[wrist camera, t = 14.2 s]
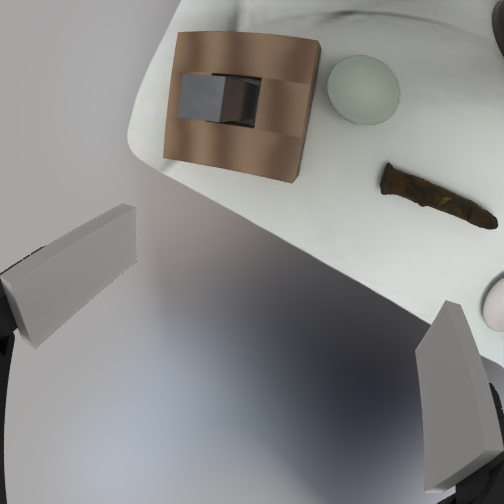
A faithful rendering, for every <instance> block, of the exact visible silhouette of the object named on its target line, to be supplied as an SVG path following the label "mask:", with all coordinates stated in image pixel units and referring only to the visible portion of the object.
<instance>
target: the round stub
mask: <svg viewBox="0 0 504 504" xmlns="http://www.w3.org/2000/svg"><path fill="white" fill-rule="evenodd" d="M328 95H329V98H330V101H331V103H332V105H333V106H334V108H335V109H336V110H337V112H338V113H339V114H340V115H342V116H343V117H344V118H346V119H347V120H349V121H351V122H353V123H356V124H361V125H375V124H378V123H381V122H383V121H385V120H387V119H388V118H389V117H390V116H392V114H393V113H394V112H395V110H396V109H397V106H398V104H399V100H400V88H399V84H398V81H397V79H396V77H395V75H394V73H393V72H392V71H391V69H390V68H389V67H388V66H387V65H385V64H384V63H383V62H381V61H379V60H377V59H375V58H373V57H369V56H363V55H357V56H351V57H348V58H346V59H343V60H342V61H340V62H339V63H338V64H337V65H336V66H335V67H334V68H333V70H332V71H331V73H330V76H329V79H328Z"/></svg>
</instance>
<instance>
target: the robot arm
mask: <svg viewBox="0 0 504 504" xmlns="http://www.w3.org/2000/svg"><path fill="white" fill-rule="evenodd" d="M493 29H494V33H495V37H496V40H497V43H498V45H499V48H500V50H501V52H502V54H503V56H504V0H501V1H500V2H498V4H497V5H496V6H495V9H494V12H493ZM136 262H137V261H136V207H133V206H129V205H126V204H121V205H119V206H117V207H115V208H113V209H111V210H109V211H107V212H105V213H103V214H102V215H100V216H98V217H96V218H94V219H92V220H90V221H89V222H87V223H85V224H83V225H81V226H80V227H78V228H76V229H74V230H72V231H71V232H69V233H67V234H65V235H64V236H62V237H60V238H59V239H57V240H55V241H53V242H52V243H50V244H48V245H47V246H44V247H41V248H39V249H38V250H36V251H35V252H33V253H31V255H28V256H26V257H25V258H23V260H20V261H18V262H17V263H16V264H14V265H12V266H11V267H9V268H8V269H6V270H5V271H3V272H2V273H0V504H7V499H6V489H5V476H4V475H5V474H4V422H5V421H4V420H5V407H6V395H7V386H8V378H9V370H10V364H11V358H12V352H13V347H14V341H15V335H14V333H13V331H14V330H15V329H17V328H18V330H19V332H20V335H21V337H22V339H23V341H25V342H26V343H27V344H28V345H30V346H31V347H32V348H33V349H36V348H38V346H39V345H41V344H42V343H43V342H44V341H45V340H46V339H47V338H48V337H49V336H51V335H52V334H53V333H54V332H55V331H56V330H57V329H58V328H59V327H61V326H62V325H63V324H64V323H65V322H66V321H67V320H68V319H70V318H71V317H72V316H73V315H74V314H75V313H76V312H77V311H79V310H80V309H81V308H82V307H83V306H84V305H85V304H87V303H88V302H89V301H90V300H91V299H93V298H94V297H95V296H96V295H97V294H98V293H100V292H101V291H102V290H103V289H104V288H106V287H107V286H108V285H109V284H110V283H112V282H113V281H114V280H115V279H116V278H118V277H119V276H120V275H121V274H123V273H124V272H125V271H126V270H127V269H129V268H130V267H131V266H133V265H134V264H135V263H136ZM415 353H416V359H417V367H418V374H419V383H420V392H421V402H422V414H423V430H424V454H425V456H424V458H425V480H424V482H425V483H424V493H443V492H445V491H447V490H448V489H450V488H451V487H453V486H455V485H456V493H454V494H453V495H451V496H449V497H447V498H446V499H444V500H442V501H440V502H438V503H437V504H504V414H503V410H502V409H501V408H502V405H501V402H500V398H499V395H498V393H497V391H496V390H495V388H494V386H493V385H492V384H491V383H488V380H487V376H486V373H485V370H484V367H483V364H482V361H481V358H480V354H479V352H478V349H477V346H476V343H475V340H474V338H473V335H472V332H471V330H470V327H469V325H468V322H467V320H466V317H465V315H464V312H463V310H462V307H461V305H459V304H456V303H453V302H450V301H447V300H446V301H445V302H444V304H443V306H442V308H441V310H440V311H439V313H438V315H437V316H436V318H435V320H434V322H433V323H432V325H431V327H430V328H429V330H428V331H427V333H426V335H425V336H424V338H423V339H422V341H421V343H420V344H419V346H418V347H417V349H416V350H415Z"/></svg>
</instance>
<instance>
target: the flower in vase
mask: <svg viewBox="0 0 504 504" xmlns="http://www.w3.org/2000/svg"><path fill="white" fill-rule="evenodd" d="M483 319H484V322H485V324H486V325H487V326H488V327H489V328H491V329H492V330H494V331H499V332H502V331H504V278H502V279H501V280H499V281H498V282H497V283H496V284H495V285H494V286H493V288H492V289H491V290H490V292H489V293H488V295H487V297H486V300H485V303H484V306H483Z"/></svg>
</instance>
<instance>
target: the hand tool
mask: <svg viewBox="0 0 504 504" xmlns="http://www.w3.org/2000/svg"><path fill="white" fill-rule="evenodd" d="M380 186H381V187H380V189H381V194H383V195H387V194H389V195H391V194H393V195H399V196H401V197H404V198H407V199H409V200H411V201H413V202H415V203H418V204H419V205H420V206H422V207H424V206H430V207H432V208H435V209H438V210H440V211H443V212H446V213H449V214H451V215H454V216H456V217H459V218H461V219H464V220H466V221H468V222H469V223H471V224H473V225H476V226H478V227H480V228H485V229H489V230H490V229H491V230H492V229H496V228H497V227H498V221H497V218H496V217H494V216H493V215H492V214H491V213H489V212H488V211H487V210H484V209H482V208H481V207H480V206H478V205H477V204H476V203H474V202H472V201H471V200H467V199H465V198H463V197H461V196H459V195H457V194H455V193H453V192H450V191H448V190H446V189H444V188H442V187H439V186H436V185H434V184H432V183H430V182H428V181H425V180H424V179H421V178H419V177H416V176H413V175H409V174H406V173H404V172H401V171H399V170H396V169H395V168H393V166H392V165H391V164H390V163H388V164H387V166H386V168H385V171H384V174H383V177H382V180H381V184H380Z"/></svg>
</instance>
